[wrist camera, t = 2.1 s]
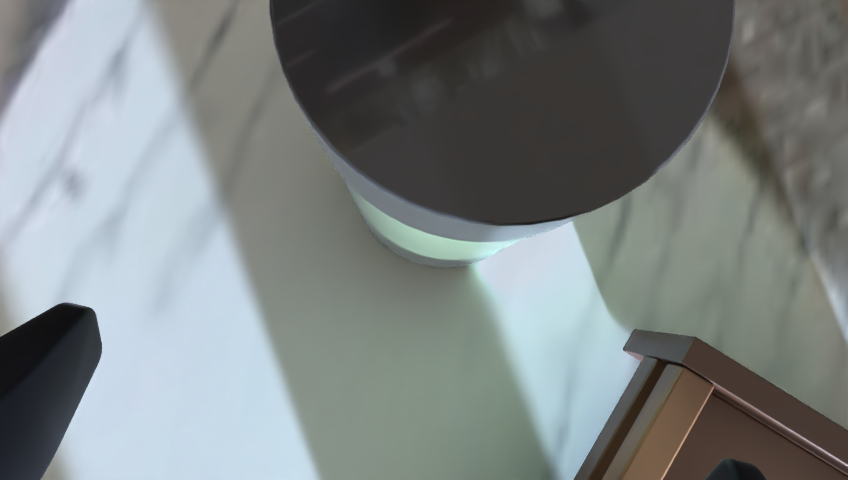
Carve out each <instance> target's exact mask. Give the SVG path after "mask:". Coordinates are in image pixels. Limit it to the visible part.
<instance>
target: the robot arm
mask: <svg viewBox="0 0 848 480" xmlns="http://www.w3.org/2000/svg"><path fill="white" fill-rule="evenodd" d="M101 353H102V342H101V337H100V332H99V327H98V322H97V317H96V313H95V312H94V310H93V309H92V308H89V307H85V306H81V305H77V304H73V303H61V304H58V305H56V306H54V307H52V308H51V309H49V310H47V311H45V312H44V313H42V314H40V315H38V316H37V317H35V318H33V319H31V320H30V321H28V322H26V323H24V324H22V325H21V326H19V327H17V328H15V329H14V330H12V331H10V332H8V333H7V334H5V335H3V336H1V337H0V480H40V479H41V478H42V476H43V474H44V473H45V471H46V469H47V467H48V466H49V464H50V462H51V461H52V459H53V457H54V455H55V453H56V451H57V449H58V447H59V445H60V443H61V441H62V439H63V437H64V434H65V432H66V430H67V428H68V426H69V424H70V422H71V420H72V418H73V416H74V413H75V411H76V409H77V407H78V405H79V403H80V401H81V399H82V397H83V394H84V392H85V390H86V388H87V386H88V384H89V382H90V380H91V378H92V376H93V373H94V371H95V369H96V367H97V365H98V363H99V360H100V357H101ZM704 480H767V479H766V478H765V476H764V475H763V473H762V472H761V471H760V470H759V469H758V468H757V467H756V466H755V465H753V464H751V463H748V462H744V461H740V460H736V459H731V458H725V459H723V460H721V461H720V462H719V463H718V464H717V465H716V466H715V468H714V469H713V470H712V471H711V472H710V473H709V474H708V476H707V477H706V478H705V479H704Z"/></svg>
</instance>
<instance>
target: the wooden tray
mask: <svg viewBox="0 0 848 480" xmlns="http://www.w3.org/2000/svg"><path fill="white" fill-rule="evenodd" d="M623 350H624V351H625V352H626V353H628V354H630V355H631V356H633V357H635V358H636V359H638V360H639V361H641V363H640V365H639V367H638V368H637V370H636V372H635V374H634V375H633V377H632V379H631V381H630V382H629V384H628V386H627V388H626V389H625V391H624V393H623V395H622V396H621V398H620V400H619V402H618V403H617V405H616V407H615V409H614V410H613V412H612V414H611V416H610V417H609V419H608V421H607V422H606V424H605V426H604V428H603V429H602V431H601V433H600V435H599V436H598V438H597V440H596V442H595V443H594V445H593V447H592V449H591V450H590V452H589V454H588V456H587V457H586V459H585V461H584V463H583V464H582V466H581V468H580V470H579V471H578V473H577V475H576V477H575V478H574V480H704V479H705V478H706V477H707V476H708V474H709V473H710V472H711V471H712V470H713V469H714V468H715V466H716V465H717V464H718V463H719V462H720V461H721V460H723V459H725V458H731V459H736V460H740V461H744V462H748V463H751V464H753V465H755V466H756V467H757V468H758V469H759V470H760V471H761V472H762V473H763V475H764V476H765V478H766V479H767V480H848V430H846V429H845V428H843V427H842V426H840V425H838V424H837V423H835V422H833V421H832V420H830V419H828V418H827V417H825V416H824V415H822V414H820V413H819V412H817V411H815V410H814V409H812V408H811V407H809V406H807V405H806V404H804V403H802V402H801V401H799V400H798V399H796V398H794V397H793V396H791V395H789V394H788V393H786V392H785V391H783V390H781V389H780V388H778V387H776V386H775V385H773V384H772V383H770V382H768V381H767V380H765V379H763V378H762V377H760V376H759V375H757V374H755V373H754V372H752V371H750V370H749V369H747V368H746V367H744V366H742V365H741V364H739V363H737V362H736V361H734V360H733V359H731V358H729V357H728V356H726V355H724V354H723V353H721V352H720V351H718V350H716V349H715V348H713V347H711V346H710V345H708V344H707V343H705V342H703V341H702V340H700V339H698V338H697V337H693V336H685V335H677V334H669V333H661V332H653V331H645V330H637V329H634V330H633V332H632V334H631V336H630V337H629V339H628V341H627V343H626V344H625V346H624V348H623Z"/></svg>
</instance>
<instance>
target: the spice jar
mask: <svg viewBox="0 0 848 480" xmlns="http://www.w3.org/2000/svg"><path fill="white" fill-rule="evenodd" d="M269 13H270V20H271V27H272V33H273V40H274V45H275V48H276V52H277V55H278V58H279V62H280V65H281V68H282V72H283V74H284V76H285V79H286V81H287V83H288V85H289V88H290V90H291V92H292V94H293V96H294V99H295V101H296V103H297V104H298V106H299V108H300V110H301V112H302V114H303V116H304V117H305V119H306V121H307V123H308V125H309V127H310V128H311V130H312V132H313V134H314V136H315V138H316V139H317V141H318V143H319V145H320V146H321V148H322V150H323V151H324V153H325V154H326V156H327V158H328V159H329V161H330V162H331V164H332V165H333V167H334V168H335V169H336V170H337V171H338V173H339V174H340V175H341V176H342V178H343V180H344V182H345V184H346V186H347V188H348V190H349V192H350V194H351V196H352V198H353V200H354V202H355V204H356V206H357V208H358V210H359V212H360V214H361V216H362V218H363V219H364V221H365V223H366V224H367V226H368V227H369V229H370V230H371V231H372V233H373V234H374V235H375V236H376V238H377V239H378V240H379V241H380V242H382V243H383V244H384V245H385V246H386V247H387V248H389V249H390V250H391V251H393V252H394V253H396V254H397V255H399V256H401V257H403V258H405V259H407V260H409V261H412V262H415V263H417V264H421V265H425V266H430V267H440V268H449V267H459V266H465V265H469V264H472V263H476V262H478V261H481V260H483V259H485V258H487V257H489V256H491V255H493V254H495V253H497V252H499V251H501V250H503V249H505V248H507V247H509V246H511V245H513V244H515V243H517V242H519V241H521V240H523V239H524V238H528V237H531V236H535V235H538V234H541V233H544V232H548V231H551V230H553V229H555V228H558V227H560V226H562V225H564V224H566V223H568V222H571V221H573V220H575V219H577V218H579V217H581V216H583V215H586V214H588V213H590V212H592V211H594V210H596V209H598V208H600V207H603V206H605V205H607V204H609V203H611V202H613V201H615V200H617V199H619V198H621V197H623V196H624V195H626V194H627V193H629V192H631V191H632V190H634V189H635V188H637V187H639V186H640V185H642V184H643V183H645V182H646V181H647V180H649V179H650V178H651V177H652V176H653V175H655V174H656V173H657V172H658V171H659V170H661V169H662V168H663V167H664V166H665V165H666V164H668V163H669V162H670V161H671V160H672V158H673V157H674V156H675V155H676V154H677V153H678V152H679V151H680V150H681V148H682V147H683V146H684V145H685V144H686V143H687V142H688V141H689V139H690V138H691V136H692V135H693V134H694V132H695V131H696V129H697V128H698V126H699V125H700V123H701V122H702V120H703V119H704V117H705V116H706V114H707V112H708V110H709V108H710V106H711V104H712V102H713V100H714V98H715V96H716V94H717V92H718V90H719V87H720V84H721V81H722V78H723V75H724V72H725V69H726V66H727V63H728V60H729V54H730V49H731V44H732V39H733V33H734V20H735V0H269Z"/></svg>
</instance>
